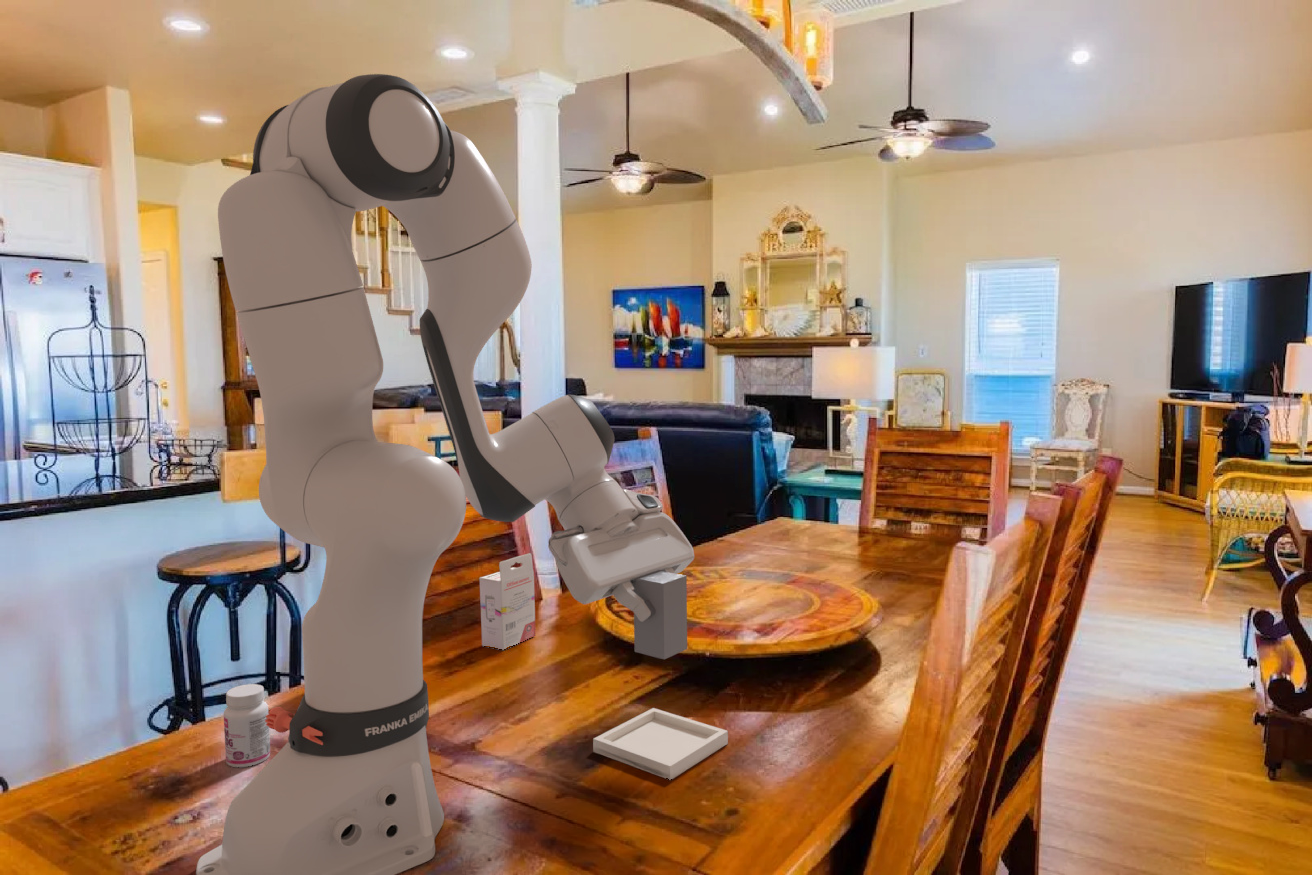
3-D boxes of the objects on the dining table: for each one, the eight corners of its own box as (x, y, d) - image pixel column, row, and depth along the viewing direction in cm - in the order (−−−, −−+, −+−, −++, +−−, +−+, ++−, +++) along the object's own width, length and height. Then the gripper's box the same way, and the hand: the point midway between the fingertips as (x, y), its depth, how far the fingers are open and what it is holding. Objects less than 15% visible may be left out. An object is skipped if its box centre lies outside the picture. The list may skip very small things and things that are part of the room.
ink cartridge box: (514, 632, 148) (512, 549, 146) (536, 637, 145) (534, 552, 144) (480, 646, 140) (477, 559, 139) (502, 651, 138) (500, 562, 136)
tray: (670, 780, 94) (670, 766, 94) (593, 751, 101) (593, 738, 101) (727, 743, 103) (727, 730, 103) (653, 719, 110) (653, 707, 110)
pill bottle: (216, 764, 99) (212, 693, 98) (250, 747, 103) (247, 680, 103) (245, 771, 97) (242, 700, 96) (279, 754, 101) (276, 685, 101)
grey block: (664, 659, 98) (663, 583, 98) (634, 651, 101) (633, 577, 100) (687, 648, 102) (686, 575, 101) (657, 641, 105) (656, 570, 104)
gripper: (555, 518, 96) (621, 617, 91) (665, 494, 112) (727, 578, 107) (528, 551, 99) (592, 649, 94) (639, 524, 115) (698, 606, 110)
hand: (664, 611), depth 101 cm, fingers closed on grey block, 4 cm apart
